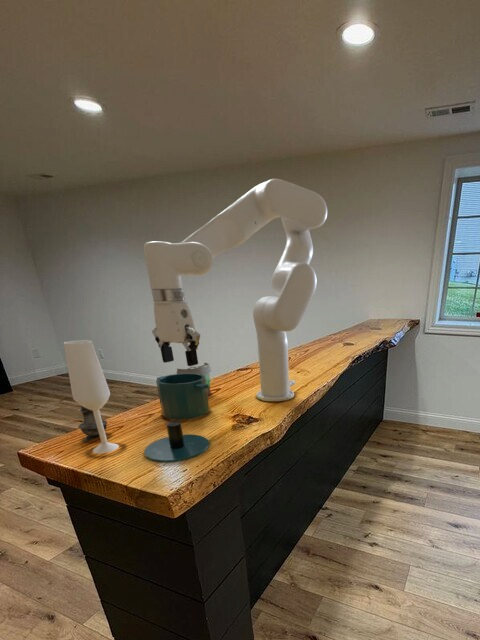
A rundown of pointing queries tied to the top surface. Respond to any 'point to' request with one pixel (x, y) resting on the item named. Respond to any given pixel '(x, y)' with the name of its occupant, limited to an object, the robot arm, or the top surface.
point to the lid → (176, 445)
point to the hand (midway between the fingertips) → (180, 363)
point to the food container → (201, 370)
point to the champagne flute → (88, 384)
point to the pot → (183, 396)
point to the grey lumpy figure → (90, 424)
